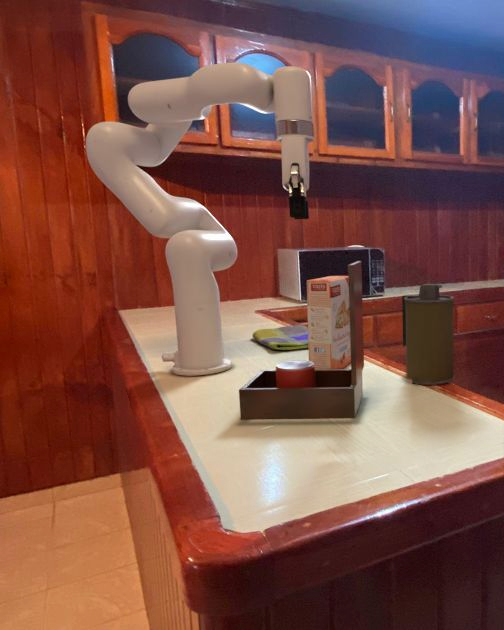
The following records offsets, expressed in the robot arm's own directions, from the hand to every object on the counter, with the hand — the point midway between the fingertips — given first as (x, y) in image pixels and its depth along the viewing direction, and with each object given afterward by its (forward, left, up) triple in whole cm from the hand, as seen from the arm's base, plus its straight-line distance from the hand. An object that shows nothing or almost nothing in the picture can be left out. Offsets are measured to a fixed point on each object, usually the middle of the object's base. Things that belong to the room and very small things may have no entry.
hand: (299, 218), depth 111 cm
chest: (+5, -24, -34) cm, 42 cm away
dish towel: (-12, +37, -34) cm, 52 cm away
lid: (+14, -24, -18) cm, 33 cm away
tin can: (+3, -24, -33) cm, 41 cm away
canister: (+27, -4, -34) cm, 43 cm away
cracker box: (+5, +6, -34) cm, 35 cm away
